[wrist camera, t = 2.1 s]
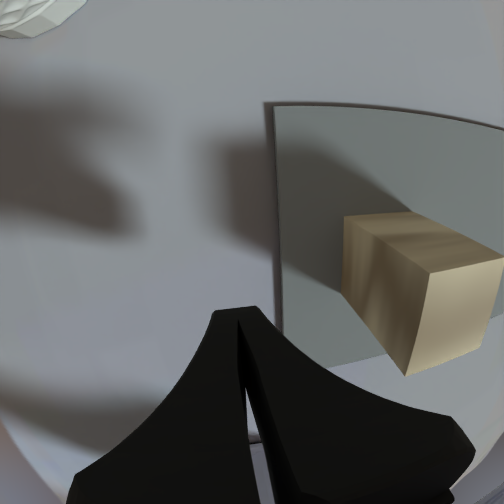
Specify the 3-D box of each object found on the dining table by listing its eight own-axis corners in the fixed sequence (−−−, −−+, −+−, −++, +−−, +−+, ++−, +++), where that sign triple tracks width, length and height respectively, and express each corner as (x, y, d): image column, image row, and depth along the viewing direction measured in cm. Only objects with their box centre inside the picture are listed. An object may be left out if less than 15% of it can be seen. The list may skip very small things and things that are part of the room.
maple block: (404, 282, 16) (479, 347, 10) (340, 293, 15) (405, 376, 9) (412, 211, 14) (505, 257, 8) (343, 216, 14) (430, 273, 8)
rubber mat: (500, 310, 19) (503, 313, 19) (282, 371, 17) (284, 376, 17) (526, 138, 14) (530, 138, 14) (272, 107, 12) (274, 106, 12)
